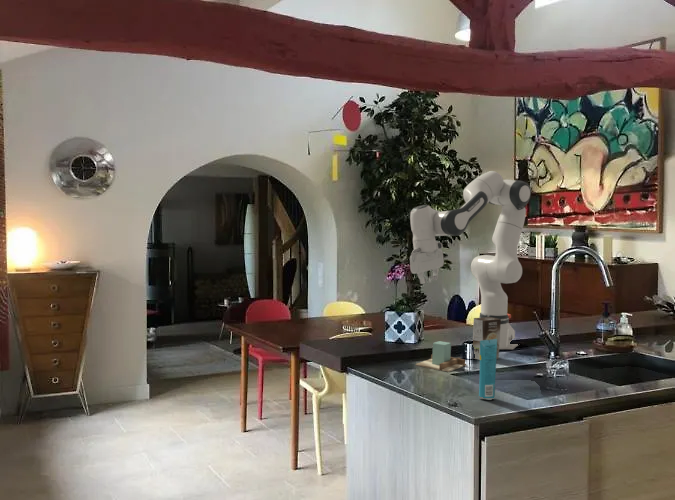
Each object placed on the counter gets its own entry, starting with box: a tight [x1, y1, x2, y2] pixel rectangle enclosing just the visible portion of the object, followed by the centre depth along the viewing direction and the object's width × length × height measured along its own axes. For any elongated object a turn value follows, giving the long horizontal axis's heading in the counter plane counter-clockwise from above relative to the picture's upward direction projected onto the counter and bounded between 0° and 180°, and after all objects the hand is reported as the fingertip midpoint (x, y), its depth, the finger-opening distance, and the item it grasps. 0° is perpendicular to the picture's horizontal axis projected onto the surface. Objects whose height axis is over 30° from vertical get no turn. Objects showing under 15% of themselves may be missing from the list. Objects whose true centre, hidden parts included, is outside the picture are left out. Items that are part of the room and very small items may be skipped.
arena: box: [415, 353, 467, 373], centre depth 271 cm, size 14×14×2 cm
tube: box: [478, 339, 497, 398], centre depth 228 cm, size 7×5×19 cm, turn 129°
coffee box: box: [471, 317, 501, 361], centre depth 285 cm, size 9×6×16 cm
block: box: [432, 340, 452, 365], centre depth 271 cm, size 5×5×8 cm
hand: (429, 281), depth 281 cm, fingers open, 8 cm apart
